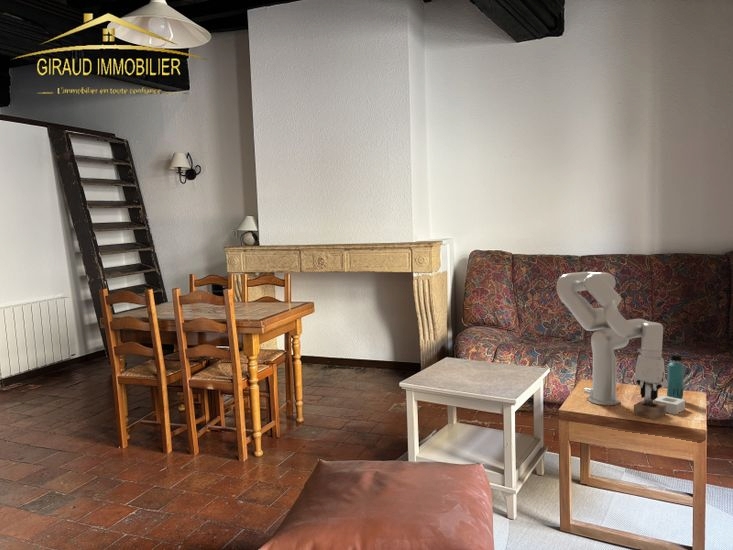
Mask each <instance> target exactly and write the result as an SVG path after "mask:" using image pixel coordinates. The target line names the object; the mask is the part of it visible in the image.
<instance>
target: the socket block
mask: <svg viewBox="0 0 733 550" xmlns="http://www.w3.org/2000/svg"><path fill="white" fill-rule="evenodd" d="M665 414H666V415H667V412H666V405H665V404H660V403H655V402H654V401H653V407H649V406H644V399H642V400H641V401H639V402H637V403H635V404H633V415H634V416H637V415H638V417H642V416H643V418H646V417H648V418H647V419H652V420H656V421H657V420H659V419H660V418H662V417H664V416H665Z"/></svg>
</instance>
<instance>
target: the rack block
mask: <svg viewBox="0 0 733 550" xmlns="http://www.w3.org/2000/svg"><path fill="white" fill-rule="evenodd" d="M653 402H655V403H660V404H665V405H666V413H667V412H668V413H669V414H672V413H673V414H672V415H678V414H680V413H681V412H683V411H685V410H686V399H683V398H682V399H678V398H673V397H668V396H667V395H661V396H658V397H657V398H656V399H655V400H653ZM684 409H685V410H684ZM679 412H680V413H679ZM668 413H667V414H668Z"/></svg>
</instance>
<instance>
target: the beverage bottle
mask: <svg viewBox="0 0 733 550" xmlns="http://www.w3.org/2000/svg"><path fill="white" fill-rule="evenodd" d="M670 360H671V361H670V362H669V363H667V383H668V385H666V396H668V397H673V398H678V399H683V398H684V390H685V389H684V381H685V380H684V377H685V365H684V364H683V363H682V362H681V361H682V360H683V359H682V355H680V354H671V355H670Z"/></svg>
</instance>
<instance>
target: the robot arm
mask: <svg viewBox="0 0 733 550" xmlns="http://www.w3.org/2000/svg"><path fill="white" fill-rule="evenodd" d="M616 283H617V282H616V279H615V277H614V275H612V274H611V273H609V272H604V271H603V272H598V271H597V272H596V271H580V272H569V273H568V272H567V273H565V274H562V275H561V276H559V278H558V279H557V282H556V293H557V296H558V298H559V299H560V301H561V302H562V303H563V305H565V307H566V308H567V309H568V310H569V311H570V313H571V315H572V316H573V317H574V318H575V320H576V321H577V322H578V323H579V325H581V327H582V328H583V330H585V331H589V332H593V331H594V332H593V334H592V335H591V337H590V345H591V350H592V385H591V386H592V388H588V387H584V389H583V393H584V394H587V395H589V396H588V397H587V398H588V399H587V400H588V401H589V402H590V403H592V404H594V405H595V404H596V405H600V406H617V405H618V404H620V401H621V400H620V399H619V397H617V371H618V370H617V364H618V363H617V356H616V354H615V351H614V350H620V349H623V348H625V347H627V346H628V344H629V343H630V339H632V340H633V339H636V338H641V343H640V344H641V345H640V347H639V348H637V352H638V353H640V354H639V355H638V357H637V360H636V364H635V371H634V375H633V376H632V380H634V382H636V384H638V385H639V388H640V395H641V398H642V399H644V391H645V382H649V383H653V390H652V398H651V399H652V400H653V401H654V400H655V399H657V398H658V397H659V396H658V395H659V394H658V393H659V390H660V389H661V388H664V387H667V385H668V383H667V382H668V380H666V377H665V375H666V374H665V361H664V358H663V357H662V355H663V354H662V353H663V340H664V339H663V337H664V325H663V324H662V323H660V322H655V321H649V320H646V319H643V318H633V319H632V318H631V319H626V318H625V317H624V316H623V315H622V314H621V312H620V311H619V308H618V306H619V305H620V303H621V302H622V297H621V295H620V294H619V292H617V291H616V290H615V287H616ZM583 291H584V292H585V291H587V292H588V293H589V294H590V295H591V296H592V298H593V299H595V301H596V302H597V303H598V304H599V305H600V306H601V307H597V308H596V307H593V306H592V305H591V304H590V303H589V301H588V300H587V298H585V297H584V296H583V295H581V294H580V293H578V292H583Z"/></svg>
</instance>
